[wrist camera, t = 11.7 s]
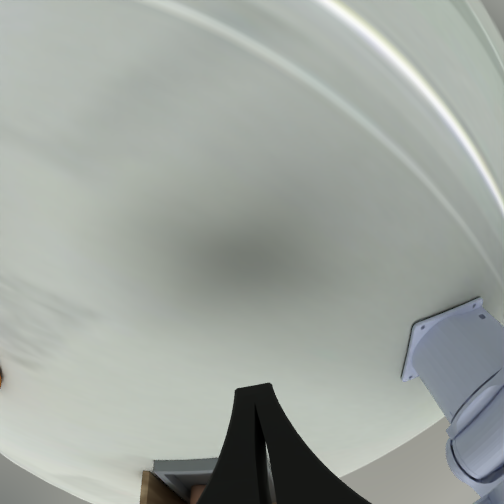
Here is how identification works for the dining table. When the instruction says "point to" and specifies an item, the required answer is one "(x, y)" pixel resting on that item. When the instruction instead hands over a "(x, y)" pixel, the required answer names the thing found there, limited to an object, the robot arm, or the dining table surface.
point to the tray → (192, 475)
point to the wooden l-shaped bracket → (157, 491)
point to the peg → (196, 493)
